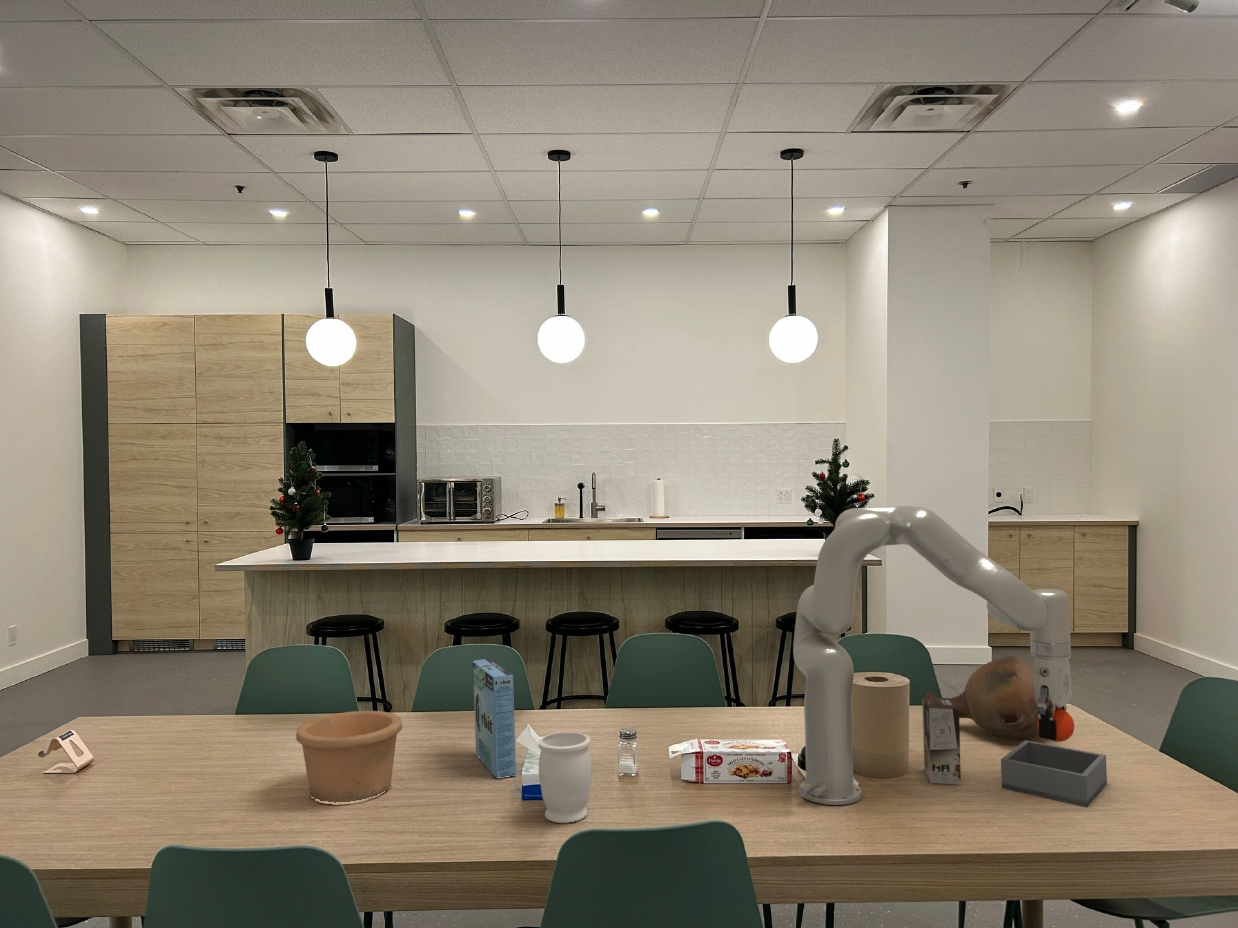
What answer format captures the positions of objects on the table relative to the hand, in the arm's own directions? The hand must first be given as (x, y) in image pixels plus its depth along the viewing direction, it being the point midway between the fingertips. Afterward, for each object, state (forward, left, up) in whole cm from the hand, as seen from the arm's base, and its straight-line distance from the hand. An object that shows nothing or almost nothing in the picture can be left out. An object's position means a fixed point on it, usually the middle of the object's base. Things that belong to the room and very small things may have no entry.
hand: (1053, 733), depth 177 cm
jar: (-75, +69, -11) cm, 103 cm away
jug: (+28, +22, -11) cm, 37 cm away
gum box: (-65, +103, -11) cm, 122 cm away
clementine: (0, 0, -2) cm, 2 cm away
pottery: (-95, +115, -11) cm, 150 cm away
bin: (0, 0, -11) cm, 11 cm away
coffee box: (-9, +20, -11) cm, 25 cm away
